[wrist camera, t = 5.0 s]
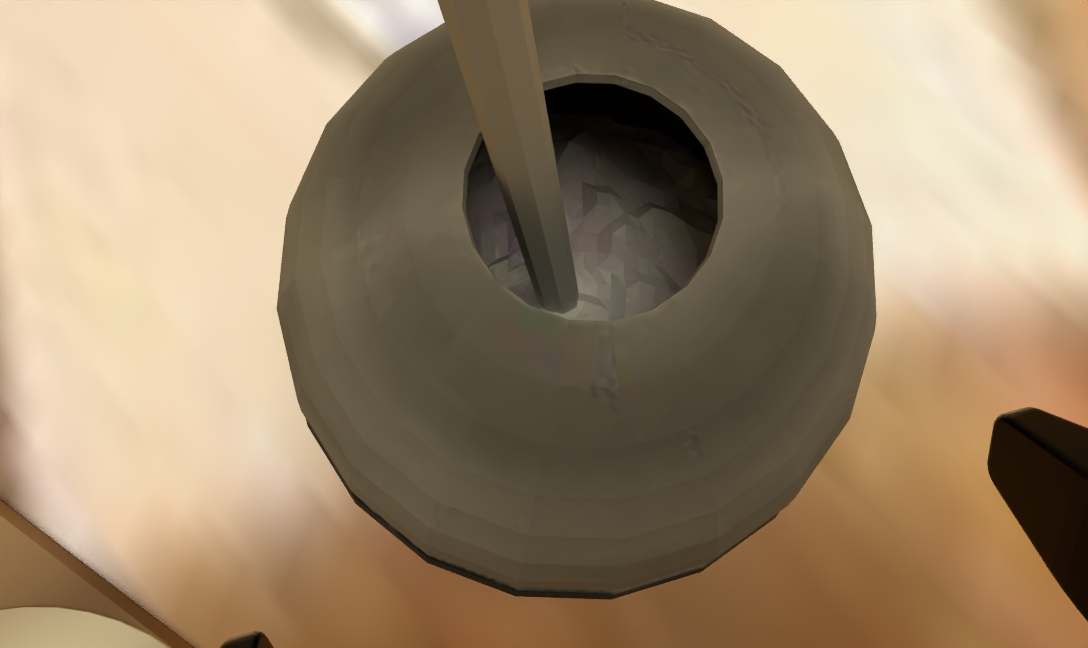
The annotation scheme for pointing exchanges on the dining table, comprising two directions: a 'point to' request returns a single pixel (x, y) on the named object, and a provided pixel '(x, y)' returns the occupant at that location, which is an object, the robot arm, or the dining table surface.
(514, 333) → the beverage cup
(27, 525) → the walnut board
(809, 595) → the dining table surface
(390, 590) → the dining table surface
